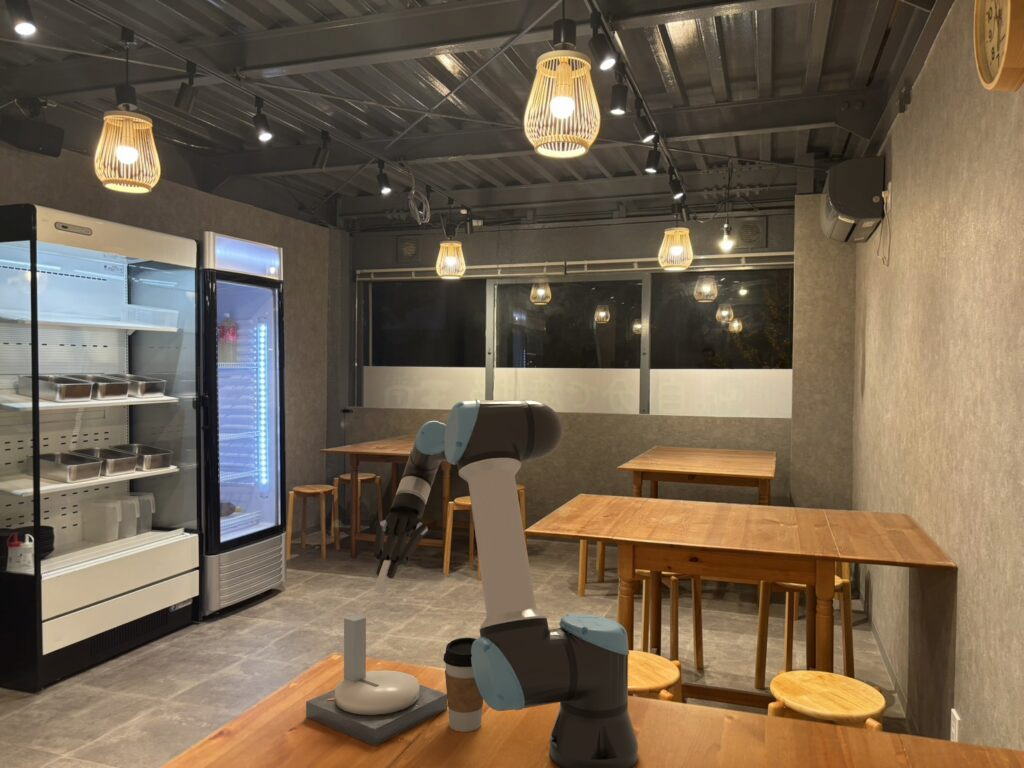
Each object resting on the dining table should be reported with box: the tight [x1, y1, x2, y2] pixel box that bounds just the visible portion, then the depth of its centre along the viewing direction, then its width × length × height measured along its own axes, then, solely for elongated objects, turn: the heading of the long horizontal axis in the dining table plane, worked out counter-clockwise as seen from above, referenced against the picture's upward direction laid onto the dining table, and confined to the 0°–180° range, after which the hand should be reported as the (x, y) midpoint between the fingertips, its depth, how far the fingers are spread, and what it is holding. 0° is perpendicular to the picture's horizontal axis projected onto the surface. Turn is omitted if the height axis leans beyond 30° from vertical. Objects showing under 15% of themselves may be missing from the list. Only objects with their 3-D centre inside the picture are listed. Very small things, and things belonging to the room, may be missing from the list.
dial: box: [334, 614, 420, 715], centre depth 147 cm, size 16×16×14 cm
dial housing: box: [305, 684, 448, 747], centre depth 147 cm, size 19×19×3 cm
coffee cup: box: [442, 637, 484, 733], centre depth 142 cm, size 8×8×15 cm
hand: (379, 589), depth 164 cm, fingers closed
